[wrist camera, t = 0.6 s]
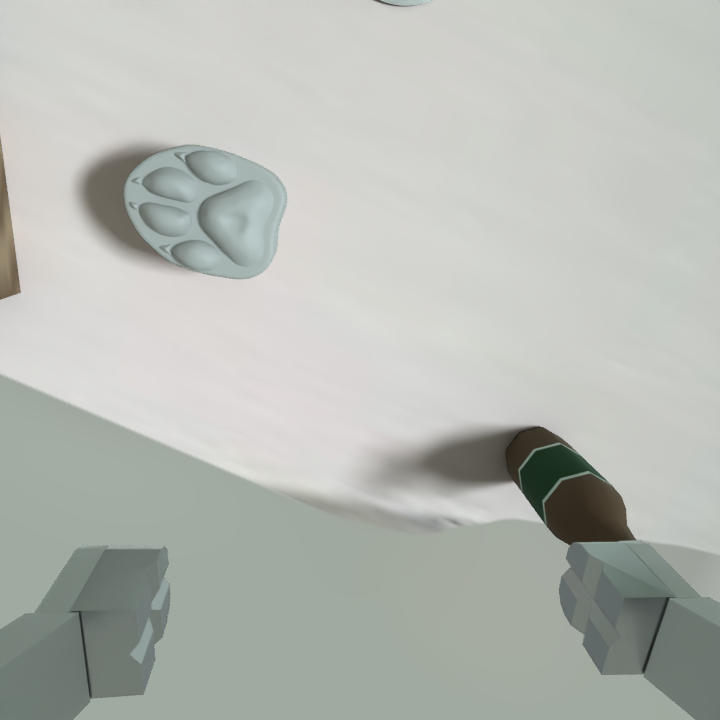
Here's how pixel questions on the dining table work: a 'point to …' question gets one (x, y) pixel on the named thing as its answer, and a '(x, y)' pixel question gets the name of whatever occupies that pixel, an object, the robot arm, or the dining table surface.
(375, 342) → the dining table surface
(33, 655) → the robot arm
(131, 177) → the paw pad
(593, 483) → the beer bottle
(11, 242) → the body
